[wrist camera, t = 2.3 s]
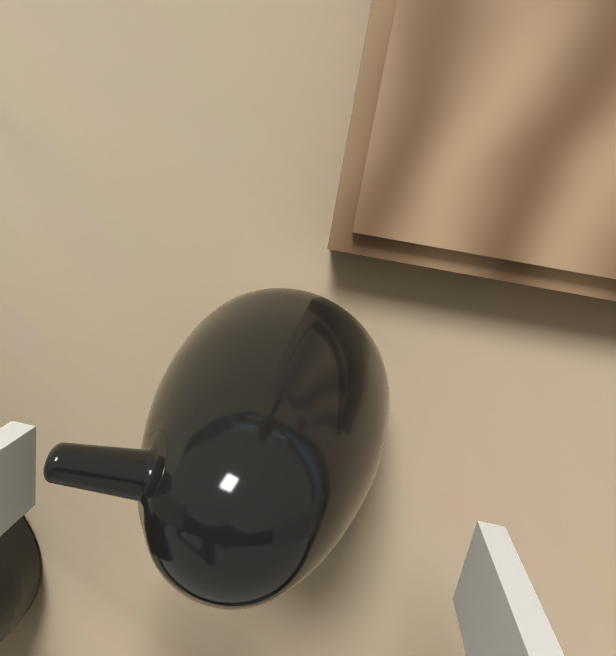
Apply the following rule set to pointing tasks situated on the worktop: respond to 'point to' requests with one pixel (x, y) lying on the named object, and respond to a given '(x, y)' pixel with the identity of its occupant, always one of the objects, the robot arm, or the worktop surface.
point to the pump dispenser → (250, 448)
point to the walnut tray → (486, 142)
